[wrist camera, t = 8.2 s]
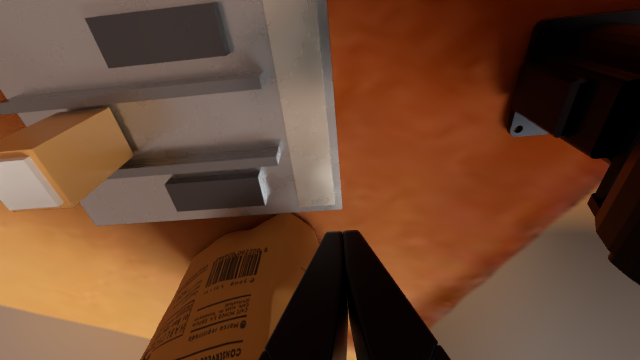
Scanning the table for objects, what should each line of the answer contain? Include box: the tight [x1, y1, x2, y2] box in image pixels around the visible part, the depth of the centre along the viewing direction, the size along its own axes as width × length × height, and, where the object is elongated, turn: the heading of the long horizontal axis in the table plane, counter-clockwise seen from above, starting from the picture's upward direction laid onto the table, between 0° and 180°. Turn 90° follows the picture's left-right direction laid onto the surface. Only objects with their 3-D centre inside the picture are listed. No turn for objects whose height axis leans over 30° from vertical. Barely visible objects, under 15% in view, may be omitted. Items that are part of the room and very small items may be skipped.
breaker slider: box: [0, 107, 134, 212], centre depth 15 cm, size 3×3×5 cm
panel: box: [0, 0, 342, 226], centre depth 17 cm, size 18×14×3 cm
